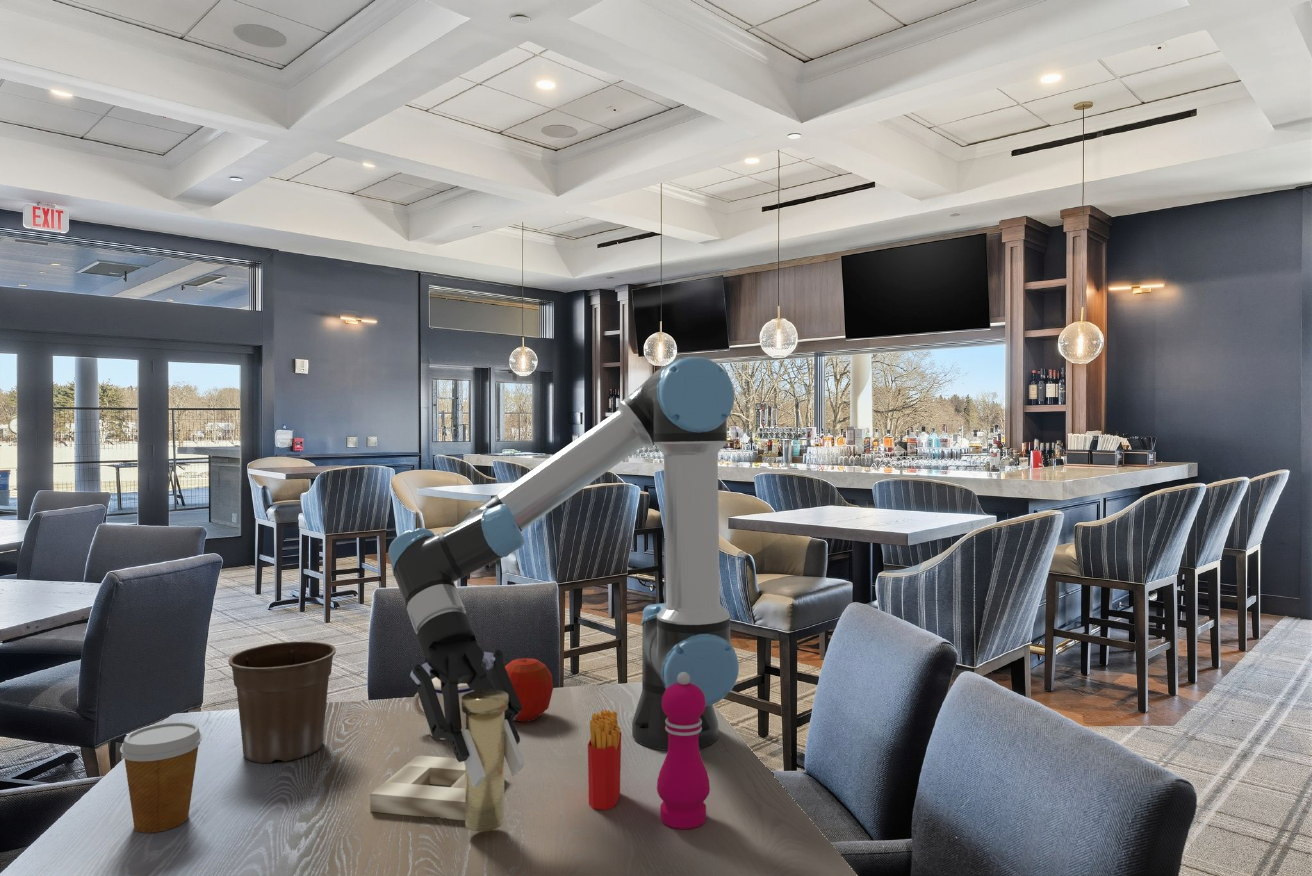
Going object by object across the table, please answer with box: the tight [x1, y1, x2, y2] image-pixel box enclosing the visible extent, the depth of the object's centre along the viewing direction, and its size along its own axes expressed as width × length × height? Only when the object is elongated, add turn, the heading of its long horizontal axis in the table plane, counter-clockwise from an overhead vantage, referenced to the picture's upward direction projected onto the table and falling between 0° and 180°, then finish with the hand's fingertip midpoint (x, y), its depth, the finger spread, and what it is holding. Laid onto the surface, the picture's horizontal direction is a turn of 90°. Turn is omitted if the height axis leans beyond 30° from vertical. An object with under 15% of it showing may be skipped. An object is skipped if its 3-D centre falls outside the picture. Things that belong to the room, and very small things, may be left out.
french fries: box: [587, 709, 622, 811], centre depth 117 cm, size 8×4×12 cm, turn 170°
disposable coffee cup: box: [119, 721, 203, 834], centre depth 110 cm, size 10×10×12 cm
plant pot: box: [227, 641, 337, 764], centre depth 135 cm, size 16×16×16 cm
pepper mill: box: [656, 672, 711, 830], centre depth 111 cm, size 7×7×20 cm
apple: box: [504, 655, 554, 723], centre depth 152 cm, size 10×10×12 cm
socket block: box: [369, 755, 465, 821], centre depth 119 cm, size 14×14×2 cm
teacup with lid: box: [412, 676, 474, 741], centre depth 144 cm, size 12×9×12 cm
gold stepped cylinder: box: [462, 689, 508, 832], centre depth 107 cm, size 6×6×16 cm
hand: (499, 775), depth 104 cm, fingers closed on gold stepped cylinder, 5 cm apart
